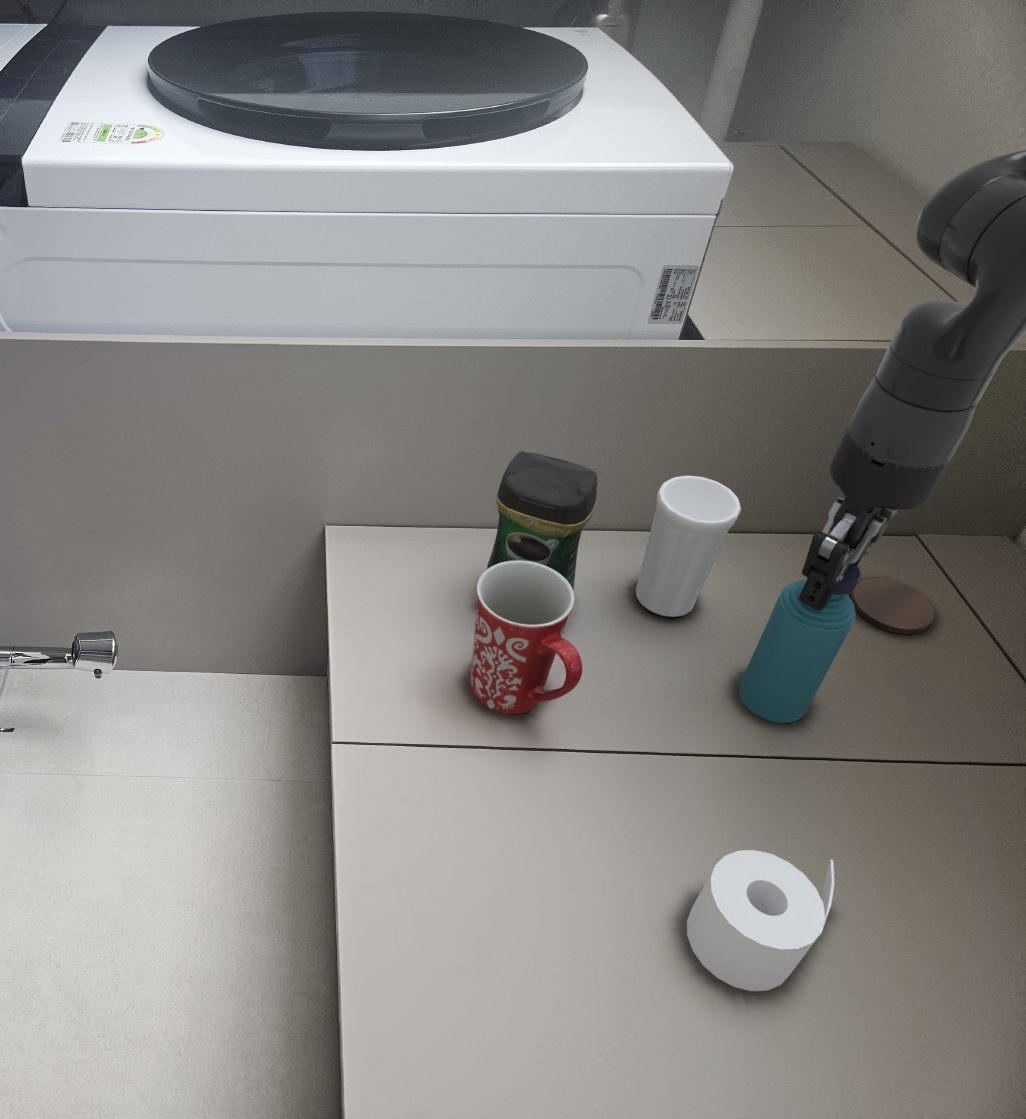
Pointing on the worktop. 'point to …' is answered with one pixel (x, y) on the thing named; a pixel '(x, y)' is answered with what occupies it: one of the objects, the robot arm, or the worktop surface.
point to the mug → (521, 636)
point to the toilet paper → (757, 919)
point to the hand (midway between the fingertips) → (822, 592)
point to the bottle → (794, 655)
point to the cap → (848, 580)
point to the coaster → (892, 606)
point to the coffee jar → (543, 512)
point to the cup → (684, 542)
